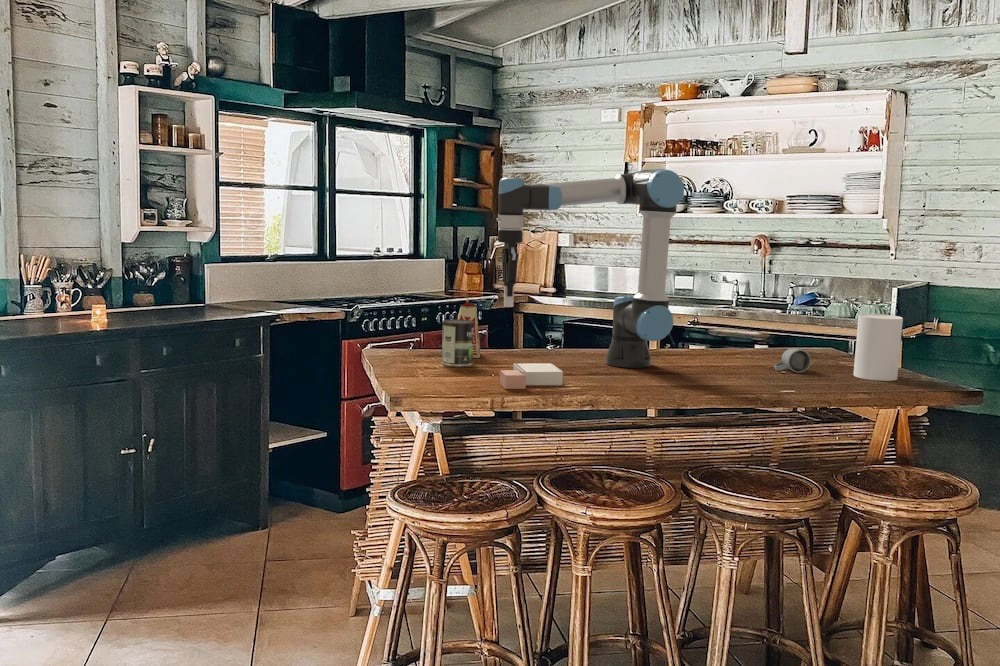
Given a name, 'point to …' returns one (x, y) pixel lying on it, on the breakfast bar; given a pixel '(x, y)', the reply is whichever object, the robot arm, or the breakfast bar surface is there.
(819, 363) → the breakfast bar surface
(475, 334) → the milk carton
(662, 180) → the robot arm
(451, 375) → the breakfast bar surface
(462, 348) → the coffee can
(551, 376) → the board
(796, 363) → the ceramic mug
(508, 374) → the stub
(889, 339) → the canister
